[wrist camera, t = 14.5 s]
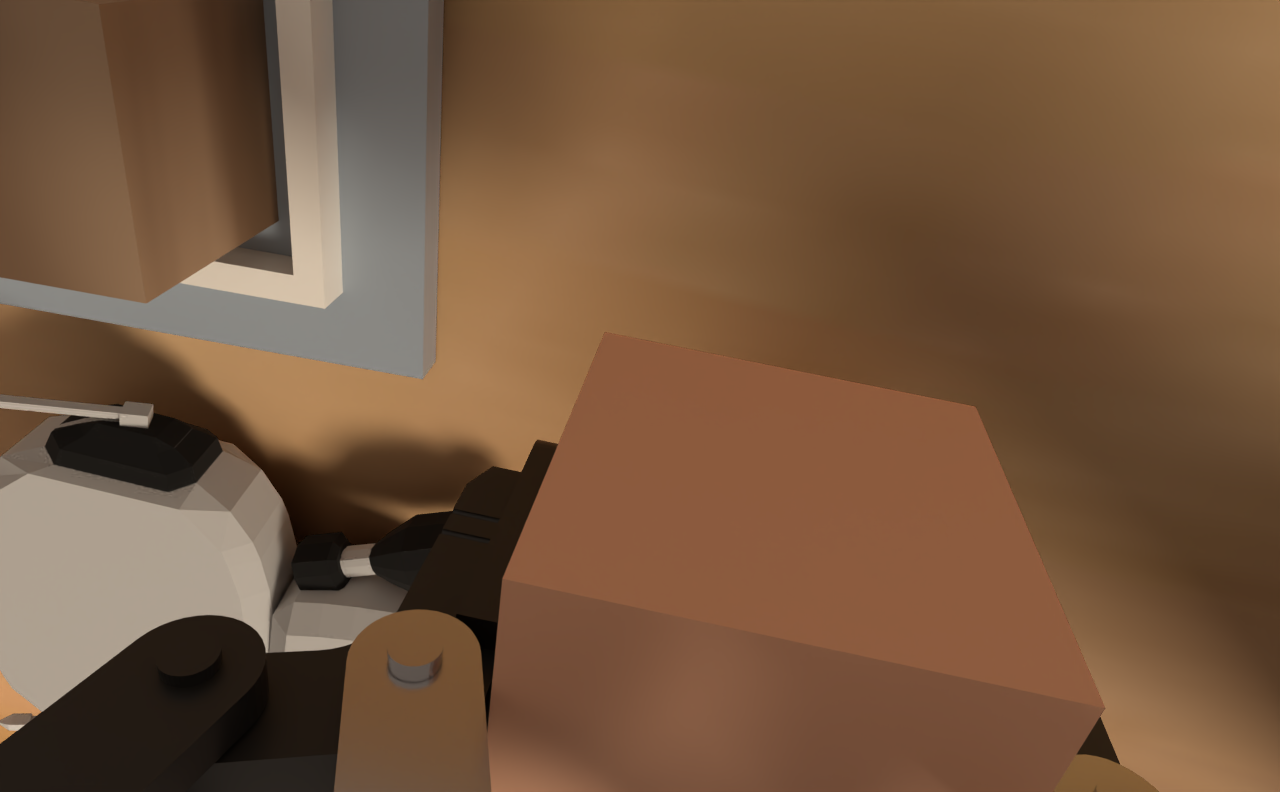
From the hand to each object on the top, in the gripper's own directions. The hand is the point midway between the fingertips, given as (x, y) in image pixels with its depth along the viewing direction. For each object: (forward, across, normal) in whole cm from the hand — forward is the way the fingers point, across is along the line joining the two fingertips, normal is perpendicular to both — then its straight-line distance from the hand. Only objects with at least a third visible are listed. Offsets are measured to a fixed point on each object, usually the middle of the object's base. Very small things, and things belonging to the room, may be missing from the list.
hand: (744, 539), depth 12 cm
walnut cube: (+8, +14, -2) cm, 16 cm away
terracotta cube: (+1, 0, 0) cm, 1 cm away
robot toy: (+10, +12, +12) cm, 19 cm away
